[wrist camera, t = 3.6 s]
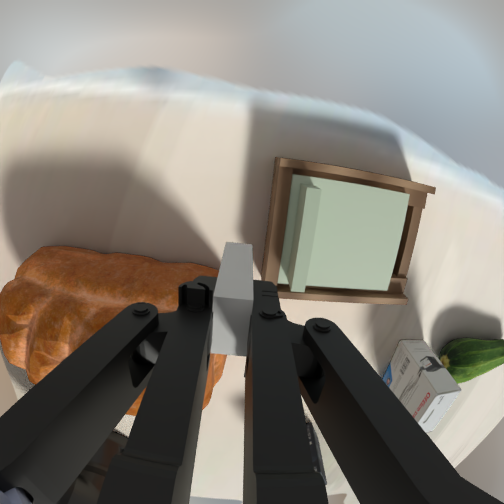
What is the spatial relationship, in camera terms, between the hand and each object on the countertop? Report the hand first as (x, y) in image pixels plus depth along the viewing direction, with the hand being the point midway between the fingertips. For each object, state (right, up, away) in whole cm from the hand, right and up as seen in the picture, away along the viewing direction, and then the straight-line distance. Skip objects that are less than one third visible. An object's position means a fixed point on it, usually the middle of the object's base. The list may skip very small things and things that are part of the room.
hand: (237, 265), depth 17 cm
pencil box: (+11, +4, +14) cm, 18 cm away
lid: (+10, +2, +11) cm, 15 cm away
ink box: (+23, -16, +21) cm, 35 cm away
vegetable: (+39, -16, +22) cm, 47 cm away
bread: (-14, -5, +17) cm, 23 cm away
